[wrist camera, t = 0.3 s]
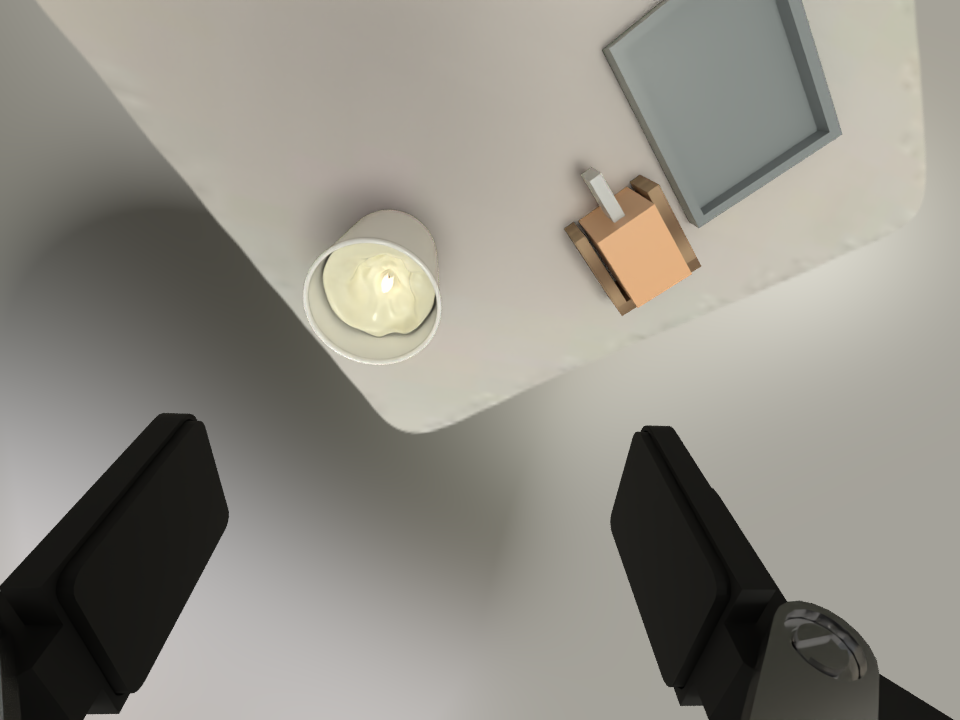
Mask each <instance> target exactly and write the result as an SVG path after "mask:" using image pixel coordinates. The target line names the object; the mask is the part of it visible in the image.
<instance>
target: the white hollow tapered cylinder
mask: <svg viewBox="0 0 960 720" xmlns="http://www.w3.org/2000/svg"><path fill="white" fill-rule="evenodd" d="M303 305H304V310H305V313H306V316H307V319H308V321H309V323H310V325H311V327H312V329H313V330H314V332H315V333H316V334H317V336H318V337H319V338H320V339H321V340H322V341H323V342H324V343H325V344H326V345H327V346H328V347H329V348H331V349H332V350H333V351H335V352H336V353H338V354H340V355H341V356H343V357H345V358H348V359H350V360H353V361H356V362H360V363H364V364H371V365H386V364H393V363H397V362H401V361H403V360H406V359H408V358H410V357H412V356H414V355H415V354H417V353H418V352H420V351H421V350H422V349H423V348H424V347H425V346H426V345H427V344H428V343H429V342H430V341H431V339H432V338H433V336H434V334H435V333H436V331H437V328H438V326H439V322H440V318H441V311H442V303H441V295H440V288H439V271H438V257H437V250H436V246H435V243H434V240H433V238H432V236H431V234H430V232H429V231H428V230H427V228H426V227H425V226H424V225H423V224H422V223H421V222H420V221H419V220H417V219H416V218H415V217H413V216H411V215H409V214H407V213H404V212H401V211H397V210H380V211H376V212H373V213H370V214H368V215H366V216H365V217H363V218H362V219H360V220H359V221H358V222H357V223H356V224H354V225H353V226H352V227H351V228H350V229H349V230H348V231H347V232H346V233H345V234H344V235H343V236H342V237H341V238H340V239H338V240H337V241H336V242H335V243H334V244H333V245H332V246H331V247H330V248H329V249H327V250H326V251H324V252H323V253H322V254H321V255H320V256H319V257H318V258H317V259H316V260H315V262H314V263H313V264H312V266H311V267H310V269H309V271H308V273H307V276H306V279H305V282H304V287H303Z"/></svg>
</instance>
